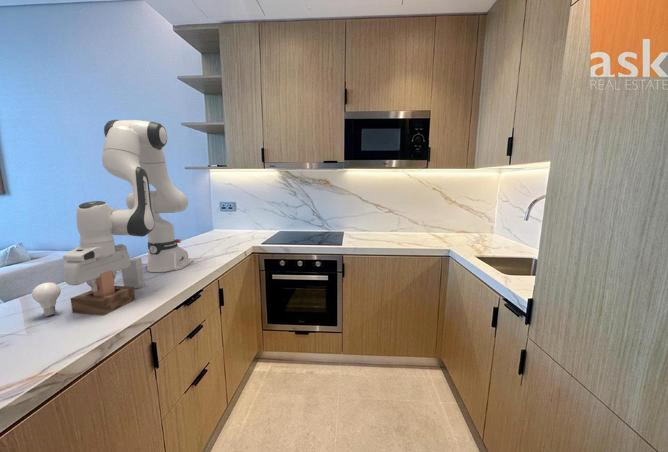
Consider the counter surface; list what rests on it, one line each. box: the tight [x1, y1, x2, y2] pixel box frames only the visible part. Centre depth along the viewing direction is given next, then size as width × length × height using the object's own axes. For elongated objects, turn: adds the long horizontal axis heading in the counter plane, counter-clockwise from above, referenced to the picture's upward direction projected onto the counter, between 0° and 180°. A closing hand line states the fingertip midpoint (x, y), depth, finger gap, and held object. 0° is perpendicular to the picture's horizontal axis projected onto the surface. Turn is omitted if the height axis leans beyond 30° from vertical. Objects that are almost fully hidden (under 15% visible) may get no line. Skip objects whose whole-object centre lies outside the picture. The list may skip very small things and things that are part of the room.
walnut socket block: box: [70, 285, 136, 316], centre depth 95 cm, size 12×12×5 cm
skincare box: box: [121, 257, 146, 289], centre depth 112 cm, size 6×4×12 cm
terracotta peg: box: [93, 270, 115, 297], centre depth 94 cm, size 4×4×10 cm
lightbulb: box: [31, 281, 62, 317], centre depth 87 cm, size 6×6×11 cm
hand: (103, 288), depth 94 cm, fingers closed on terracotta peg, 4 cm apart
